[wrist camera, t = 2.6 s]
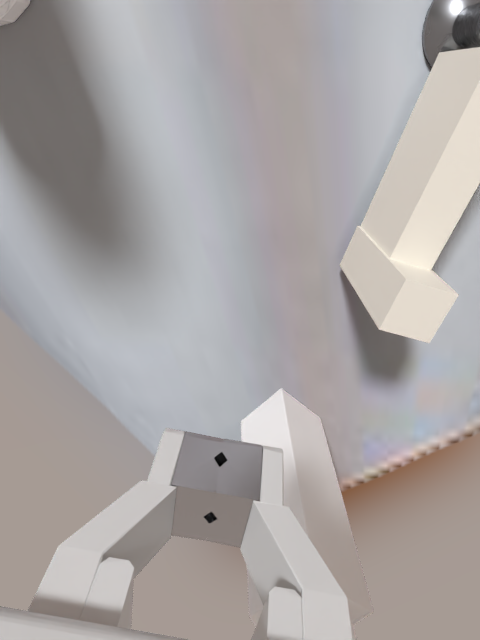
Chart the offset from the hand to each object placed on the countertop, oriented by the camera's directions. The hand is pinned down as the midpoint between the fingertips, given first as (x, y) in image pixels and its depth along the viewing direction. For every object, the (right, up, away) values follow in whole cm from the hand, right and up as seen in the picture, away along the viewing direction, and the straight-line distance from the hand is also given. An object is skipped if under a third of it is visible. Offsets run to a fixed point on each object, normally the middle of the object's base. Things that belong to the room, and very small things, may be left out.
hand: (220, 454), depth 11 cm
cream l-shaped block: (+13, +14, +21) cm, 29 cm away
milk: (+5, -7, +34) cm, 35 cm away
